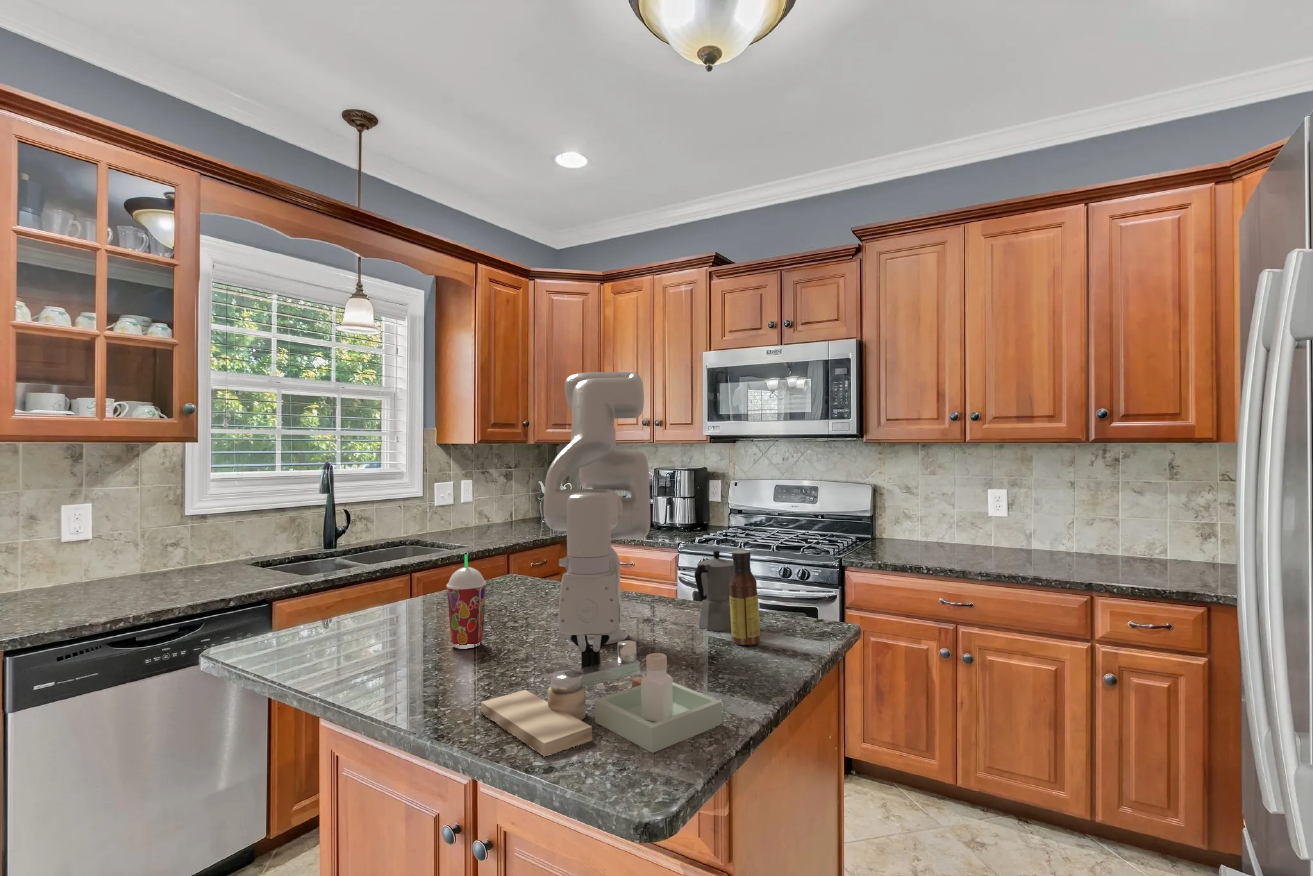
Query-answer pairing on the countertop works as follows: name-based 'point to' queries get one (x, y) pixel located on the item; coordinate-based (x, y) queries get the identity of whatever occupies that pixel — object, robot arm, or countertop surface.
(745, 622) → the sauce bottle
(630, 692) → the tray
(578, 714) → the base
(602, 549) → the robot arm
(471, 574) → the smoothie
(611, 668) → the crank arm
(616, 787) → the countertop surface
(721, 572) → the coffeepot
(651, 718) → the salt shaker
